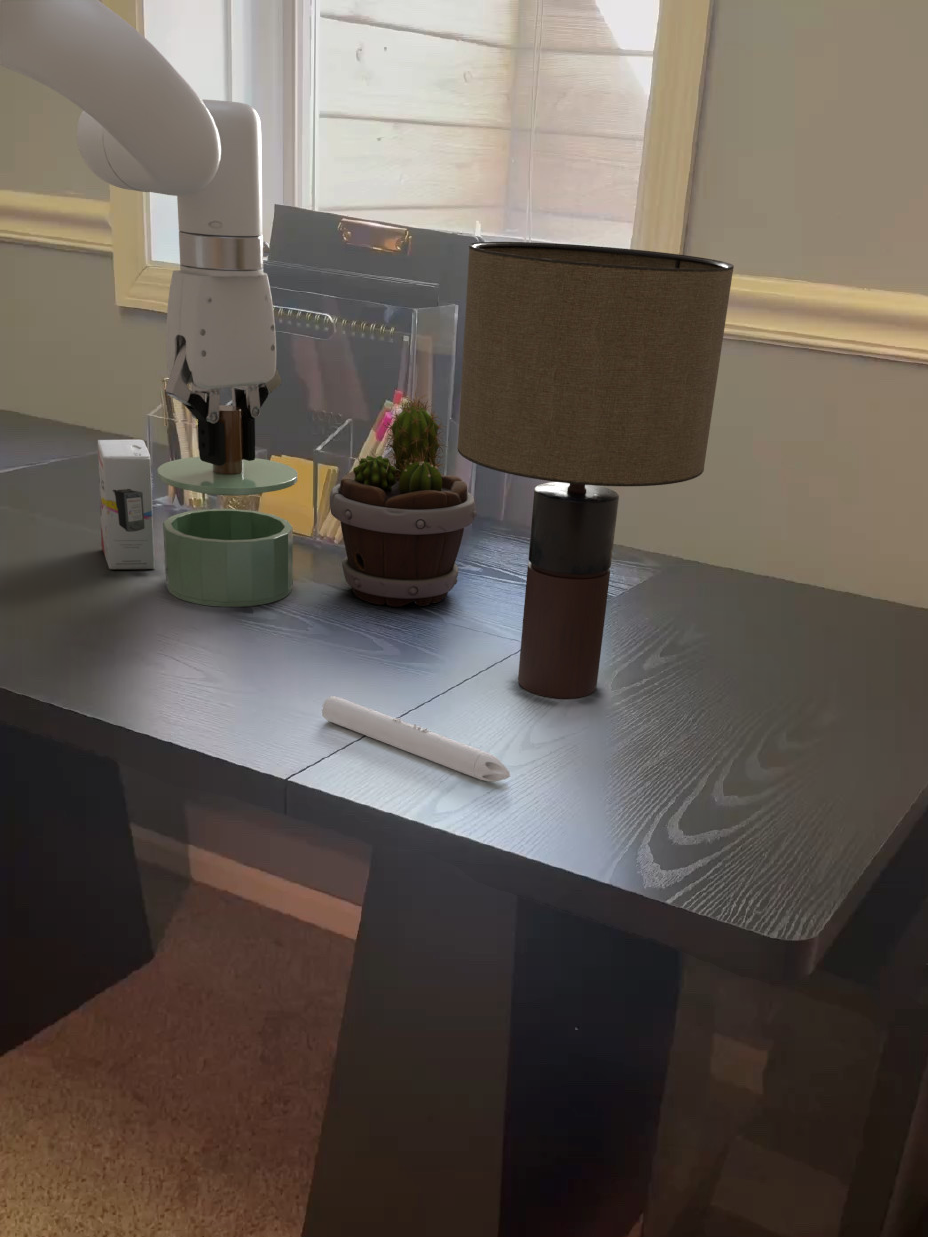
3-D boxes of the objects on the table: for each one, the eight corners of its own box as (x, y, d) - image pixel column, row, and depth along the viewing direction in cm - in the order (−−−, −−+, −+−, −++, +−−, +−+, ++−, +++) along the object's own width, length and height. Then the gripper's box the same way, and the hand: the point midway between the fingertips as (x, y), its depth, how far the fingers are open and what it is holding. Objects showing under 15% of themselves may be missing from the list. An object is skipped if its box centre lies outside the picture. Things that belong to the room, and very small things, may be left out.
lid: (167, 501, 121) (163, 421, 117) (150, 468, 132) (146, 394, 129) (310, 499, 125) (310, 422, 122) (283, 466, 136) (282, 395, 133)
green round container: (175, 609, 126) (172, 543, 123) (160, 571, 137) (156, 509, 134) (303, 604, 130) (303, 540, 127) (278, 567, 141) (278, 507, 138)
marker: (517, 784, 97) (520, 756, 96) (500, 793, 95) (503, 764, 94) (338, 716, 106) (339, 689, 105) (321, 723, 104) (321, 696, 103)
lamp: (715, 693, 116) (785, 267, 100) (567, 749, 103) (619, 269, 86) (549, 631, 128) (586, 242, 112) (397, 673, 115) (414, 240, 99)
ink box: (101, 548, 143) (93, 437, 137) (148, 547, 144) (142, 438, 139) (108, 571, 135) (100, 456, 130) (157, 570, 137) (152, 456, 131)
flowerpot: (441, 625, 127) (453, 414, 118) (301, 599, 132) (302, 393, 122) (491, 587, 140) (506, 393, 130) (361, 564, 144) (366, 374, 134)
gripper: (263, 250, 126) (266, 444, 135) (121, 252, 115) (134, 463, 124) (315, 258, 122) (315, 457, 131) (173, 261, 111) (183, 478, 120)
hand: (227, 458), depth 127 cm, fingers closed on lid, 3 cm apart
